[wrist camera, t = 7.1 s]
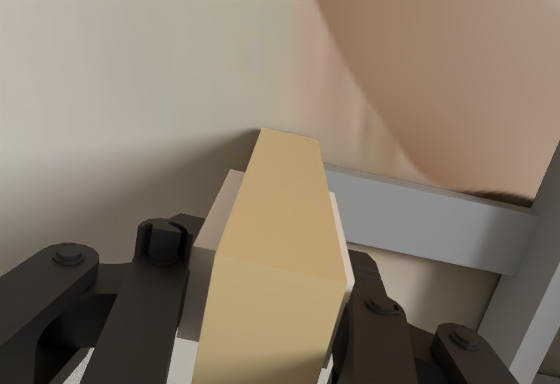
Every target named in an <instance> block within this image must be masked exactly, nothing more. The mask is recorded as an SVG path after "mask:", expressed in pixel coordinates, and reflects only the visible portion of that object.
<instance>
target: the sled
mask: <svg viewBox="0 0 560 384" xmlns="http://www.w3.org/2000/svg"><path fill="white" fill-rule="evenodd" d="M329 192H334V194H335V198H336V202H337V207H338V211H339V215H340V220H341V224H342V228H343V232H344V237H345V241H348V242H353V243H357V244H362V245H367V246H372V247H376V248H381V249H386V250H391V251H395V252H400V253H405V254H410V255H414V256H419V257H424V258H429V259H433V260H438V261H443V262H448V263H452V264H457V265H462V266H467V267H471V268H476V269H481V270H486V271H490V272H495V273H500V274H502V276H501V278H500V280H499V283H498V285H497V287H496V289H495V292H494V294H493V296H492V299H491V301H490V303H489V306H488V308H487V310H486V313H485V315H484V317H483V320H482V322H481V324H480V327H479V329H478V331H477V334H479V335H480V336H482V337H483V338H484V339H485V340H486V341H487V342H488V343H489V344H490V346H491V347H492V348H493V350H494V351H495V352H496V353H497V355H498V356H499V357H500V359H501V360H502V361H503V363H504V364H505V365H506V367H507V368H508V369H509V371H510V372H511V373H512V375H513V376H514V377H515V379H516V380H517V381H518V383H519V384H560V378H557V377H552V376H547V375H542V374H537V371H538V369H539V367H540V365H541V363H542V361H543V359H544V357H545V355H546V353H547V351H548V349H549V347H550V345H551V343H552V341H553V339H554V337H555V335H556V333H557V331H558V329H559V327H560V141H559V143H558V146H557V148H556V151H555V153H554V155H553V157H552V160H551V162H550V164H549V166H548V169H547V171H546V173H545V176H544V178H543V180H542V183H541V185H540V187H539V190H538V192H537V194H536V197H535V199H534V201H533V204H532V206H531V208H527V207H522V206H518V205H513V204H509V203H504V202H499V201H495V200H490V199H485V198H481V197H476V196H472V195H467V194H462V193H458V192H453V191H448V190H444V189H439V188H435V187H430V186H425V185H421V184H416V183H412V182H407V181H402V180H398V179H393V178H388V177H384V176H379V175H375V174H370V173H365V172H361V171H356V170H352V169H347V168H342V167H338V166H333V165H328V164H324V163H323V160H322V155H321V150H320V145H319V140H318V139H314V138H309V137H305V136H300V135H296V134H291V133H286V132H282V131H277V130H273V129H268V128H264V127H262V129H261V131H260V134H259V137H258V140H257V142H256V145H255V148H254V151H253V153H252V156H251V159H250V161H249V164H248V167H247V170H246V172H245V175H244V178H243V181H242V183H241V186H240V189H239V191H238V194H237V197H236V200H235V202H234V205H233V208H232V211H231V213H230V216H229V219H228V221H227V224H226V227H225V230H224V232H223V235H222V238H221V240H220V243H219V246H218V249H217V251H216V254H215V258H214V264H213V269H212V274H211V280H210V285H209V291H208V296H207V301H206V307H205V312H204V318H203V323H202V329H201V334H200V339H199V345H198V350H197V356H196V361H195V366H194V372H193V377H192V383H191V384H317V382H318V379H319V375H320V372H321V369H322V366H323V362H324V359H325V356H326V352H327V349H328V346H329V342H330V339H331V336H332V332H333V329H334V326H335V323H336V319H337V316H338V313H339V309H340V306H341V303H342V299H343V296H344V293H345V289H346V286H347V278H346V273H345V268H344V263H343V258H342V253H341V249H340V244H339V239H338V234H337V229H336V224H335V219H334V214H333V209H332V204H331V199H330V194H329Z"/></svg>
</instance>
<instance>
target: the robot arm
mask: <svg viewBox="0 0 560 384" xmlns="http://www.w3.org/2000/svg"><path fill="white" fill-rule="evenodd" d="M244 175H245V172H241V171H236V170H232V169H230V171H229V173H228V175H227V177H226V179H225V181H224V183H223V185H222V187H221V189H220V191H219V193H218V195H217V197H216V199H215V202H214V204H213V206H212V208H211V210H210V212H209V214H208V216H207V218H206V219H204V218H199V217H195V216H190V215H186V214H179V215H176V216H174V217H172V218H170V219H162V218H157V219H149V220H146V221H143V222H142V223H141V224H140V225H139V226H138V231H137V239H136V247H135V254H134V258H133V260H132V262H130V263H124V264H100V263H99V255H98V253H97V252H96V251H95V250H94V249H93V248H90V247H88V246H86V245H81V244H77V243H61V244H56V245H51V246H49V247H47V248H44V249H42V250H41V251H39V252H38V253H36V254H35V255H33V256H32V257H30V258H29V259H27V260H26V261H24V262H23V263H21V264H20V265H18V266H17V267H15V268H14V269H12V270H11V271H9V272H8V273H6V274H5V275H3V276H2V277H0V384H63V383H64V381H65V380H66V379H67V378H68V377H69V376H70V374H71V373H72V372H73V371H74V370H75V368H76V367H77V366H78V365H79V364H80V363H81V361H82V360H83V359H84V358H85V357H86V355H87V354H88V352H89V350H90V348H95V349H94V351H93V353H92V356H91V358H90V360H89V363H88V365H87V367H86V370H85V372H84V374H83V377H82V379H81V381H80V384H166V383H167V377H168V372H169V367H170V362H171V356H172V351H173V346H174V340H175V334H176V331H177V328H178V332H177V337H178V338H182V339H187V340H192V341H197V342H199V339H200V334H201V329H202V323H203V318H204V312H205V307H206V301H207V296H208V291H209V285H210V280H211V274H212V269H213V264H214V258H215V254H216V251H217V249H218V246H219V243H220V240H221V238H222V235H223V232H224V230H225V227H226V224H227V221H228V219H229V216H230V213H231V211H232V208H233V205H234V202H235V200H236V197H237V194H238V191H239V189H240V186H241V183H242V181H243V178H244ZM329 194H330V199H331V204H332V209H333V214H334V219H335V224H336V229H337V234H338V239H339V244H340V249H341V253H342V258H343V263H344V268H345V273H346V278H347V286H346V289H345V293H344V296H343V299H342V303H341V306H340V309H339V313H338V316H337V319H336V323H335V326H334V329H333V332H332V336H331V339H330V342H329V346H328V349H327V352H326V356H325V359H324V362H323V366H322V368H325V369H327V366H328V363H329V360H330V357H331V354H332V356H333V367H332V370H331V373H330V376H329V379H328V382H327V384H519V383H518V381H517V380H516V379H515V377H514V376H513V375H512V373H511V372H510V371H509V369H508V368H507V367H506V365H505V364H504V363H503V361H502V360H501V359H500V357H499V356H498V355H497V353H496V352H495V351H494V350H493V348H492V347H491V346H490V344H489V343H488V342H487V341H486V340H485V339H484V338H483V337H482V336H480V335H479V334H477V333H476V332H475V331H474V330H472V329H470V328H467V327H466V326H463V325H458V324H454V323H443V324H441V325H439V326H438V328H437V331H436V333H435V335H434V334H431V333H429V332H426V331H424V330H422V329H419V328H417V327H415V326H413V325H411V324H409V323H407V319H406V314H405V312H404V310H403V308H402V307H401V306H400V305H399V304H398V303H397V302H396V301H394V300H392V299H391V298H389V297H387V294H386V291H385V288H384V285H383V282H382V280H381V276H380V274H379V273H378V272H379V271H378V268H377V265H376V262H375V261H374V260H373V259H372V258H371V257H370V256H369V255H368V254H367V253H363V252H358V251H354V250H349V249H347V245H346V241H345V237H344V232H343V228H342V224H341V220H340V215H339V211H338V207H337V202H336V198H335V194H334V192H329Z"/></svg>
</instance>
